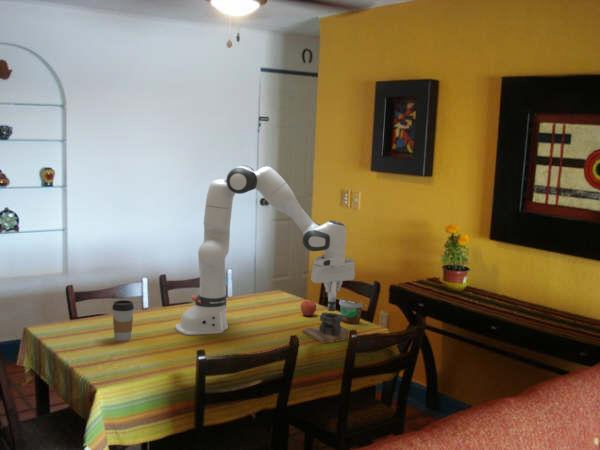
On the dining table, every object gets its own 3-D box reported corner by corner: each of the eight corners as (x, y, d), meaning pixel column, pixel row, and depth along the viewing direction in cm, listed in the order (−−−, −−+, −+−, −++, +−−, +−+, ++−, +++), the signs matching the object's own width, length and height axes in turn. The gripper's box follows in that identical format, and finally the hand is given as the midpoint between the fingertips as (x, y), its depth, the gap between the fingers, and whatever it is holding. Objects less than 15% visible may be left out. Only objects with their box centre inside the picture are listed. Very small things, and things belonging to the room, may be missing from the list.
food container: (332, 320, 317) (333, 299, 316) (340, 318, 322) (342, 297, 320) (353, 326, 309) (354, 305, 307) (361, 324, 313) (363, 302, 312)
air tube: (330, 311, 291) (332, 274, 289) (325, 309, 294) (328, 272, 292) (336, 310, 293) (339, 273, 290) (332, 308, 296) (334, 272, 293)
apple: (307, 312, 328) (308, 296, 327) (319, 316, 323) (320, 299, 322) (296, 315, 323) (297, 298, 322) (308, 318, 318) (309, 301, 317)
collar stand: (322, 343, 284) (323, 323, 282) (302, 332, 297) (303, 313, 296) (358, 338, 293) (359, 318, 292) (336, 327, 306) (338, 308, 305)
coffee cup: (110, 336, 279) (110, 300, 276) (131, 335, 282) (132, 299, 280) (113, 343, 271) (113, 306, 269) (135, 341, 274) (135, 304, 272)
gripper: (350, 256, 298) (348, 287, 300) (310, 259, 288) (308, 291, 290) (358, 259, 293) (356, 291, 295) (318, 262, 282) (316, 295, 284)
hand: (332, 291), depth 292 cm, fingers closed on air tube, 3 cm apart
